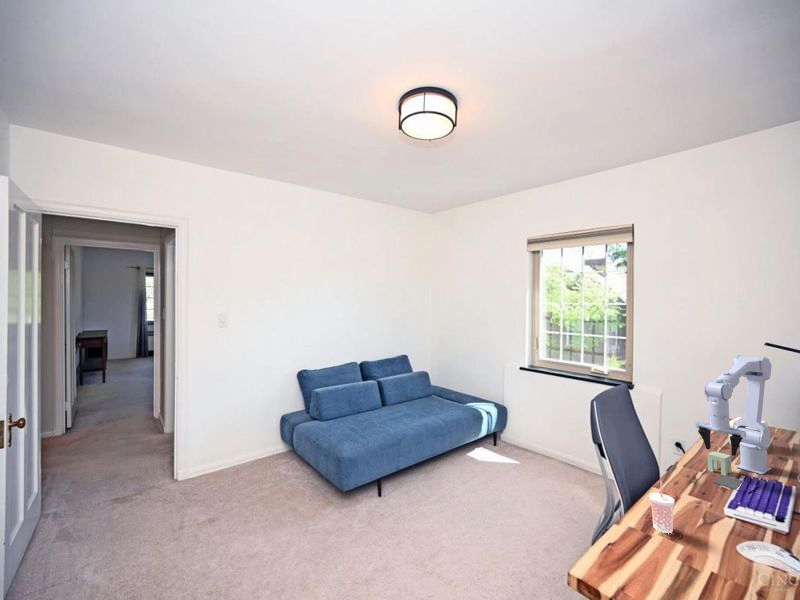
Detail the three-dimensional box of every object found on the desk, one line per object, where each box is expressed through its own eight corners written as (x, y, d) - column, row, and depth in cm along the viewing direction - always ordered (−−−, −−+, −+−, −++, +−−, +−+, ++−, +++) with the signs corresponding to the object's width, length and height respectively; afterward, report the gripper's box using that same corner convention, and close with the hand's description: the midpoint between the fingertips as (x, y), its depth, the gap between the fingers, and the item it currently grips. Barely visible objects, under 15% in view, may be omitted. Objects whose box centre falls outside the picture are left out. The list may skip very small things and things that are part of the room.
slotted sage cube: (714, 467, 151) (713, 451, 151) (731, 472, 146) (730, 455, 146) (708, 470, 148) (707, 454, 148) (725, 475, 143) (725, 458, 143)
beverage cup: (667, 537, 105) (665, 486, 106) (645, 526, 111) (643, 478, 111) (680, 532, 108) (678, 482, 108) (658, 521, 113) (657, 474, 114)
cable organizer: (758, 453, 164) (757, 426, 165) (727, 446, 173) (726, 420, 174) (769, 446, 172) (768, 420, 173) (739, 440, 181) (738, 415, 182)
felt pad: (724, 476, 143) (724, 475, 143) (759, 486, 134) (759, 485, 134) (712, 482, 138) (712, 481, 138) (748, 493, 129) (748, 492, 129)
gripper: (691, 412, 145) (693, 448, 145) (740, 421, 133) (742, 460, 132) (699, 409, 149) (701, 444, 148) (747, 418, 136) (749, 456, 136)
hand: (720, 451), depth 141 cm, fingers open, 7 cm apart
